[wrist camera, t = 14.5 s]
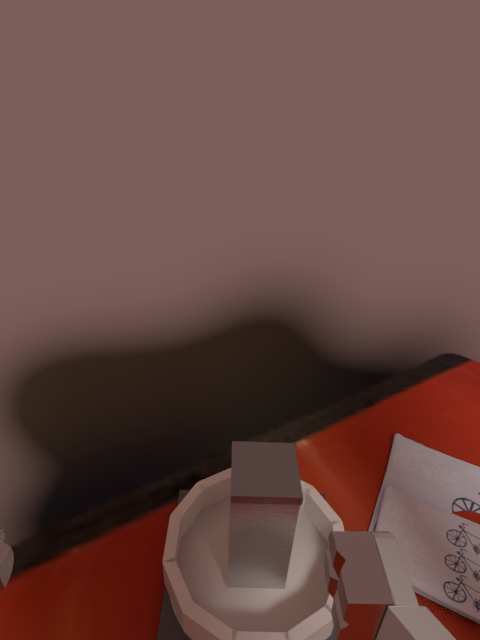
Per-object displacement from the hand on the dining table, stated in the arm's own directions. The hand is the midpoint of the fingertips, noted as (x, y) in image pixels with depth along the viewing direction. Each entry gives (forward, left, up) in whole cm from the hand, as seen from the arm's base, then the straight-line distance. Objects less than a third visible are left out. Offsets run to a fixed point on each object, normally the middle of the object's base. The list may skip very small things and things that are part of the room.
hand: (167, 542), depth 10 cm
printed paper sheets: (-27, -21, -30) cm, 46 cm away
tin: (-4, -16, -28) cm, 32 cm away
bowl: (-4, -16, -29) cm, 33 cm away
